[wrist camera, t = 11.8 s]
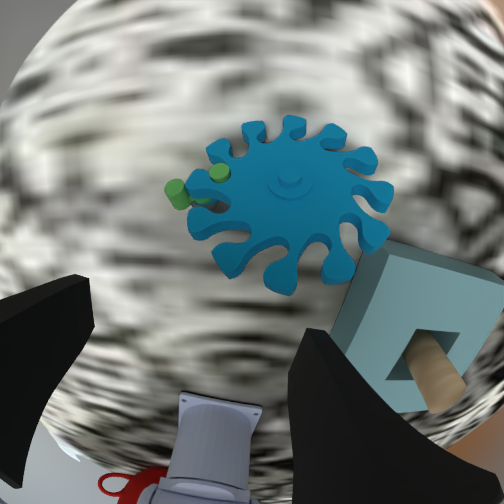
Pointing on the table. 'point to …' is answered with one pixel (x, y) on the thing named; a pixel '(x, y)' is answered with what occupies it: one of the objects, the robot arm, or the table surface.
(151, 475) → the ceramic cup
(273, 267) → the blue slotted wheel
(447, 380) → the oak peg
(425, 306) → the socket block
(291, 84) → the table surface
